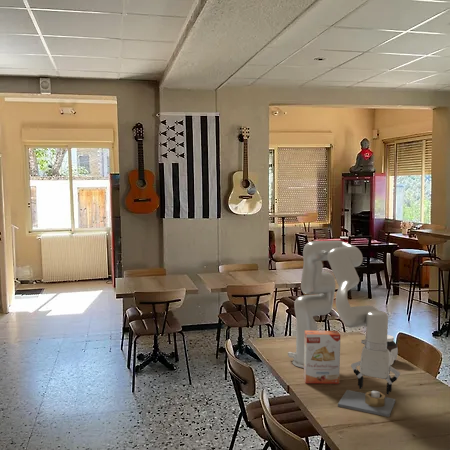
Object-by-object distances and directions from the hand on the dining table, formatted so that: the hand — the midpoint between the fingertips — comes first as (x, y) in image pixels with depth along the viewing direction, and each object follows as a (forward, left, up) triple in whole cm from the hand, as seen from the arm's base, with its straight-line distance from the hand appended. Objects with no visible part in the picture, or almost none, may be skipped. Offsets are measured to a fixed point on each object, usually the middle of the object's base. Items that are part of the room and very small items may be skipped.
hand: (374, 390), depth 174 cm
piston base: (-3, 0, -6) cm, 6 cm away
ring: (0, 0, -5) cm, 5 cm away
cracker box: (-24, +13, -6) cm, 27 cm away
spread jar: (-4, +49, -6) cm, 49 cm away
